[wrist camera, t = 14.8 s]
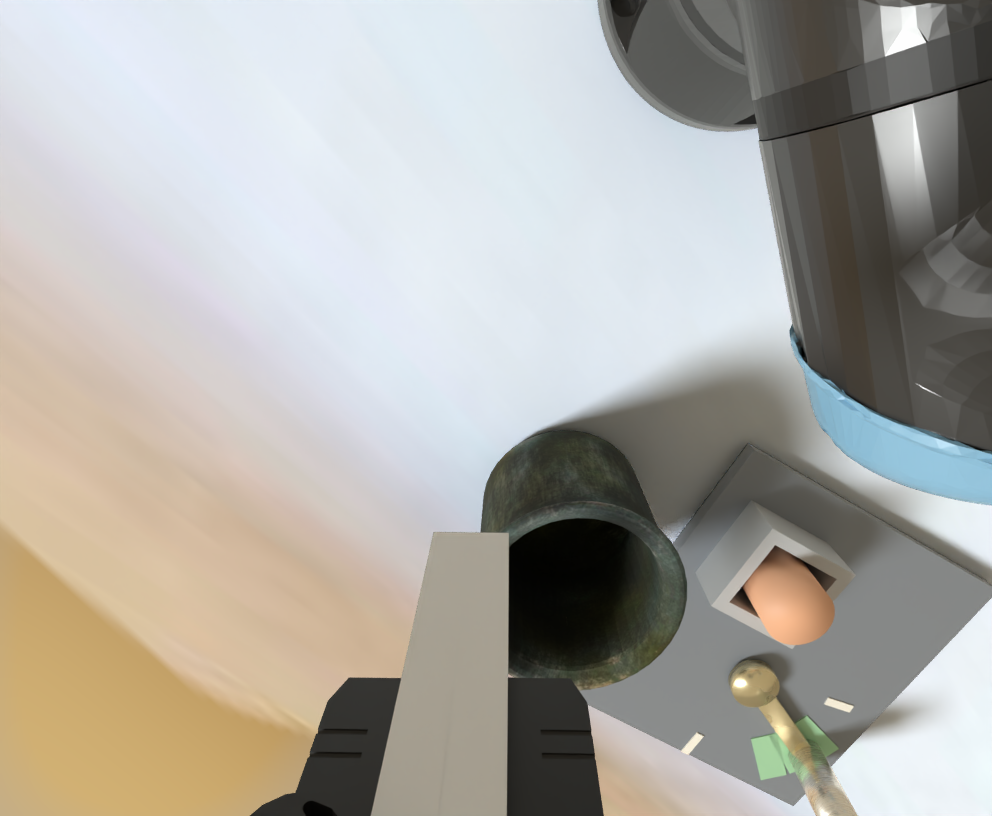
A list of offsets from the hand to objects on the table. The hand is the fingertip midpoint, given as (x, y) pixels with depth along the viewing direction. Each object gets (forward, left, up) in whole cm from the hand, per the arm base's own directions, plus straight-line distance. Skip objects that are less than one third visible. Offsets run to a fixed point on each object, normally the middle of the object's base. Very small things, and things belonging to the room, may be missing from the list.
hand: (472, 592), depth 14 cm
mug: (+10, +9, -30) cm, 33 cm away
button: (+5, +23, -27) cm, 36 cm away
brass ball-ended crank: (+15, +31, -28) cm, 45 cm away
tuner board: (+10, +28, -29) cm, 42 cm away
